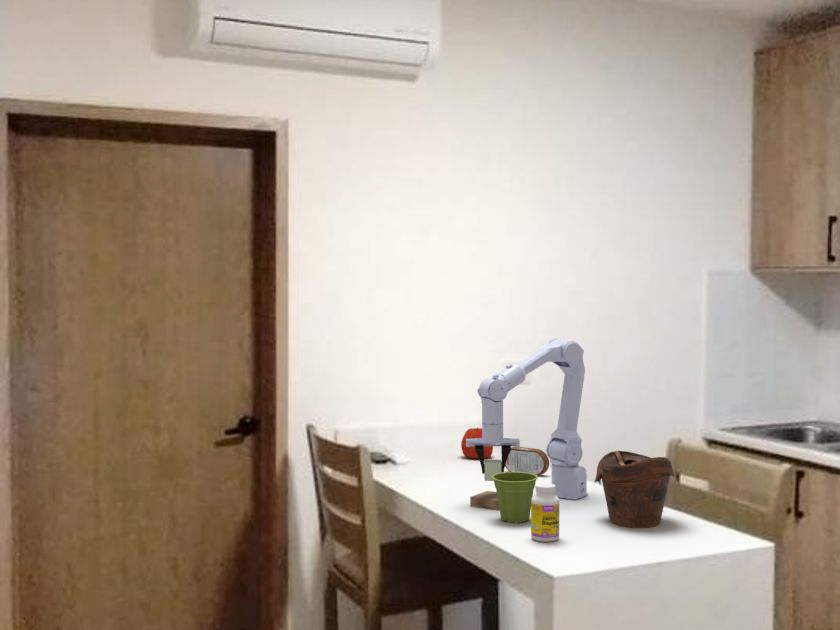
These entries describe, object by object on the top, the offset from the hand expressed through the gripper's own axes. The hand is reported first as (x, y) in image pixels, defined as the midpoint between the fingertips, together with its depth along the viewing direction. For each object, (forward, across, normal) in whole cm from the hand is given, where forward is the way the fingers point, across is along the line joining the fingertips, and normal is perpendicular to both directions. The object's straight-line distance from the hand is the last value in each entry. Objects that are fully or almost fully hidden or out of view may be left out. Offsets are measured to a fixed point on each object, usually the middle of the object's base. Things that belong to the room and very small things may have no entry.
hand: (492, 472), depth 272 cm
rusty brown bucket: (+9, -35, +18) cm, 40 cm away
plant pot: (+9, -5, +16) cm, 19 cm away
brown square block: (+9, 0, 0) cm, 9 cm away
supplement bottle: (+9, -11, +34) cm, 37 cm away
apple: (+9, +3, -70) cm, 70 cm away
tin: (+9, -11, -42) cm, 44 cm away
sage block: (+2, 0, 0) cm, 2 cm away
